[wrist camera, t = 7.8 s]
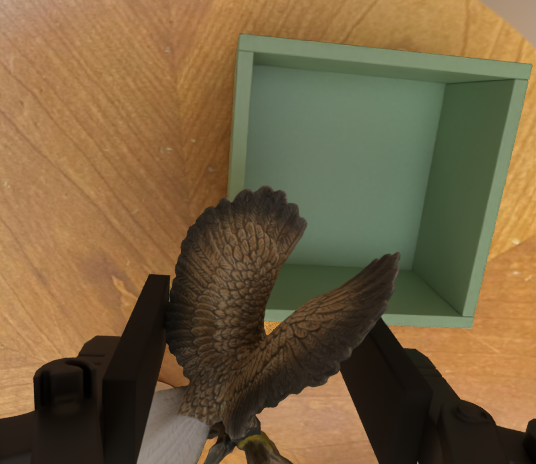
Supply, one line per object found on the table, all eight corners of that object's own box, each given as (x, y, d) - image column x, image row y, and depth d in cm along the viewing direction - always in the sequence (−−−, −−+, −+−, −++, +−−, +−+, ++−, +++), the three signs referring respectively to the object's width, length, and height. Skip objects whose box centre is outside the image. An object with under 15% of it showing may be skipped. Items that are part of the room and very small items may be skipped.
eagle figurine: (363, 430, 18) (438, 233, 14) (277, 605, 12) (362, 355, 8) (211, 344, 21) (237, 162, 17) (84, 452, 15) (79, 214, 11)
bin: (235, 51, 31) (239, 33, 22) (453, 73, 32) (533, 63, 24) (222, 266, 35) (221, 319, 26) (415, 276, 37) (471, 328, 28)
